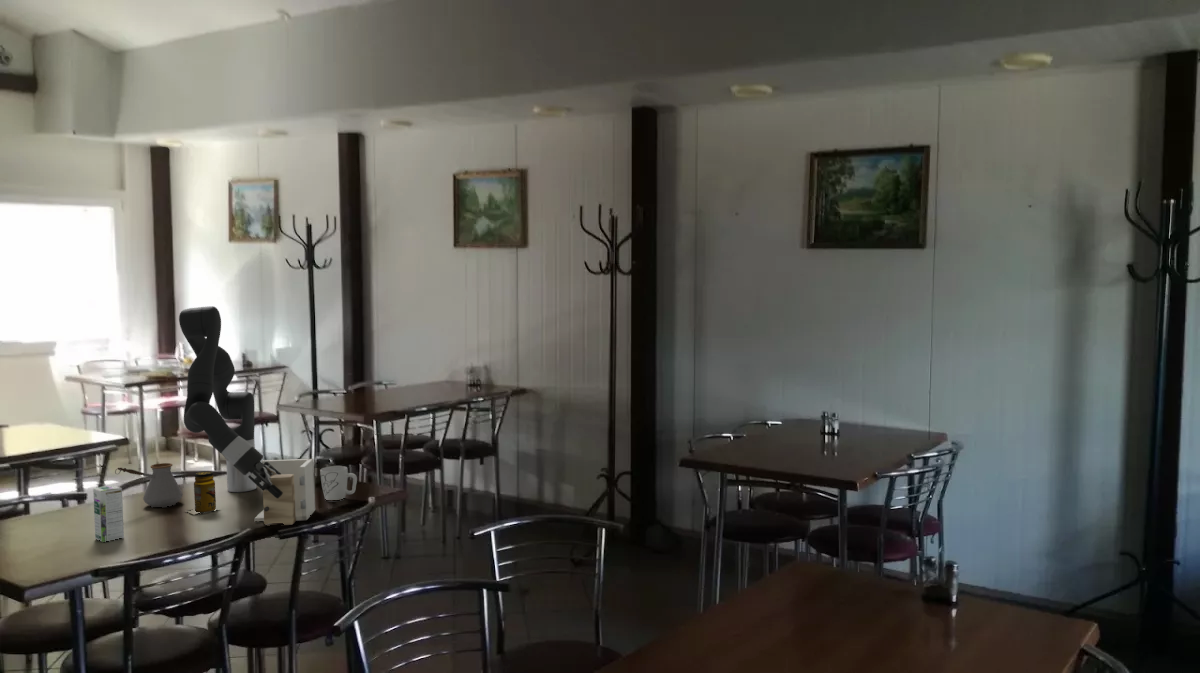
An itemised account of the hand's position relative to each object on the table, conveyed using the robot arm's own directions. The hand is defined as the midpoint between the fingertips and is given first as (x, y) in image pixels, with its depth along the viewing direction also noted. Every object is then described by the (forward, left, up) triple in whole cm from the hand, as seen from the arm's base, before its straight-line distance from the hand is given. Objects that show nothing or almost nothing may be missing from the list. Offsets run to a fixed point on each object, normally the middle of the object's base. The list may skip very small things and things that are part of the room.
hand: (284, 492), depth 274 cm
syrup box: (+10, -45, -9) cm, 47 cm away
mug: (-27, +11, -9) cm, 30 cm away
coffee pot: (-24, -47, -9) cm, 54 cm away
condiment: (-18, -29, -9) cm, 36 cm away
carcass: (-7, -2, -9) cm, 11 cm away
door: (0, -1, -9) cm, 9 cm away
